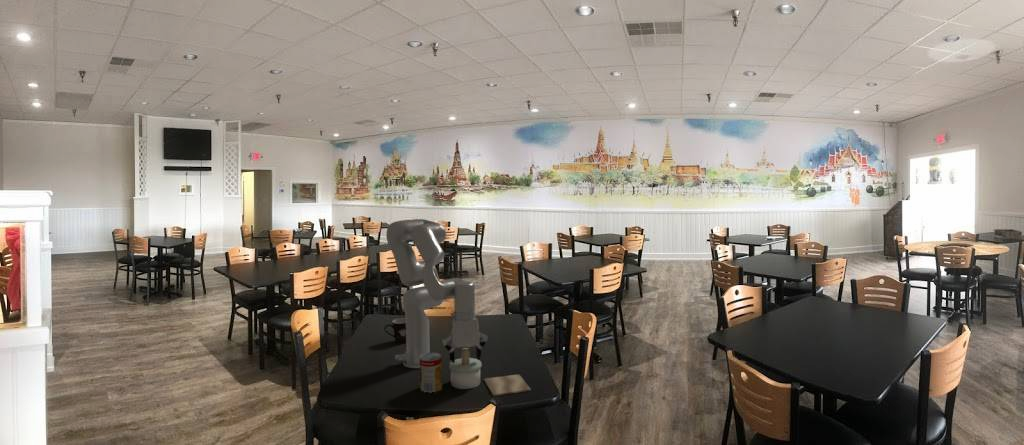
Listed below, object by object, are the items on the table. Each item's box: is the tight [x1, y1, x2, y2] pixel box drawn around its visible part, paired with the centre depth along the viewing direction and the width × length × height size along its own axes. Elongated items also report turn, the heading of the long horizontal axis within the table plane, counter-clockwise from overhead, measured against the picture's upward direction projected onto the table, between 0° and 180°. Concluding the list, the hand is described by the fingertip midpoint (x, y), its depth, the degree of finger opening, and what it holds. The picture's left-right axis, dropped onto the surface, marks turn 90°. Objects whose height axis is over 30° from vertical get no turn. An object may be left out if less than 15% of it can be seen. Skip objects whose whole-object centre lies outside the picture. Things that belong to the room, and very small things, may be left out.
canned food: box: [419, 352, 443, 394], centre depth 173 cm, size 8×8×12 cm
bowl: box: [450, 368, 481, 390], centre depth 178 cm, size 11×11×6 cm
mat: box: [483, 373, 532, 397], centre depth 176 cm, size 14×14×1 cm
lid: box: [448, 347, 483, 373], centre depth 178 cm, size 12×12×6 cm
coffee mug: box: [383, 317, 406, 345], centre depth 224 cm, size 12×9×10 cm
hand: (465, 360), depth 178 cm, fingers open, 9 cm apart
